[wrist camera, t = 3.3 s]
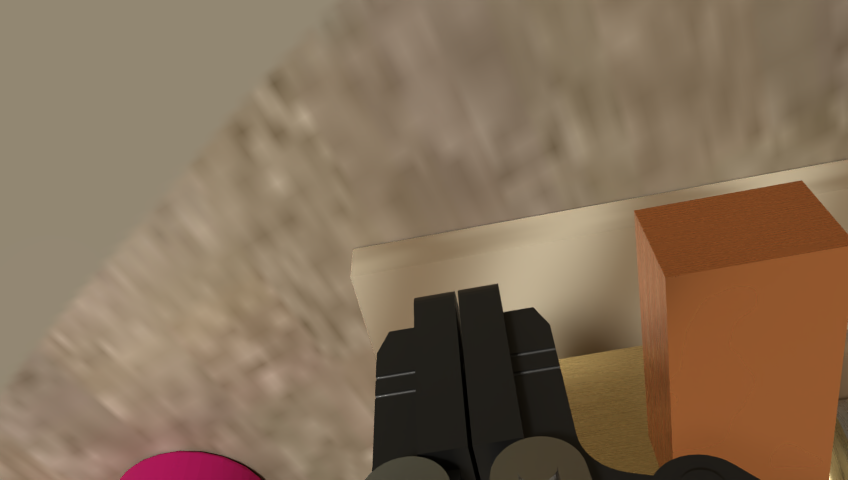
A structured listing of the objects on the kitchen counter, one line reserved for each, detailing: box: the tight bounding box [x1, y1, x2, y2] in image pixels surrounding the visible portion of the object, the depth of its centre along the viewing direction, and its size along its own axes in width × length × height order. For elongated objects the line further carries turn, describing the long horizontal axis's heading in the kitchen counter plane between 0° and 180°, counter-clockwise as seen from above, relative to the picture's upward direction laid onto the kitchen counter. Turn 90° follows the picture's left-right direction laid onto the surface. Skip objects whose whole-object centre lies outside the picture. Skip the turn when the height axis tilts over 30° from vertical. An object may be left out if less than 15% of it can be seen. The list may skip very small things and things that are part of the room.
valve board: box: [351, 160, 848, 400], centre depth 26 cm, size 16×12×4 cm
